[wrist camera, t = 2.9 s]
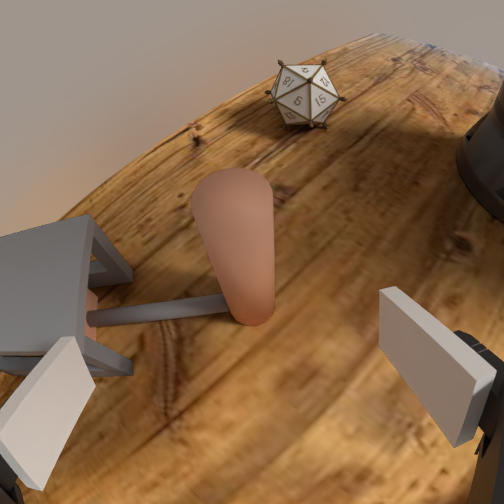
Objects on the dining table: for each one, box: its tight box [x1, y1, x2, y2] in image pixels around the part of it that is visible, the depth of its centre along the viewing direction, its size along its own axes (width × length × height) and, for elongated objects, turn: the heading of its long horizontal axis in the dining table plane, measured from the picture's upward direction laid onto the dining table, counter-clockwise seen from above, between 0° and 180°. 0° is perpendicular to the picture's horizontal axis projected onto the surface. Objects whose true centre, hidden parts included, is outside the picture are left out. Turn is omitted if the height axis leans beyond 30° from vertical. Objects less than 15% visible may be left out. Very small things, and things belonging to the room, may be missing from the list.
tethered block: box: [85, 168, 275, 341], centre depth 19 cm, size 20×5×13 cm, turn 98°
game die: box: [264, 59, 348, 131], centre depth 32 cm, size 9×8×10 cm
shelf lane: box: [0, 214, 134, 377], centre depth 21 cm, size 14×9×8 cm
